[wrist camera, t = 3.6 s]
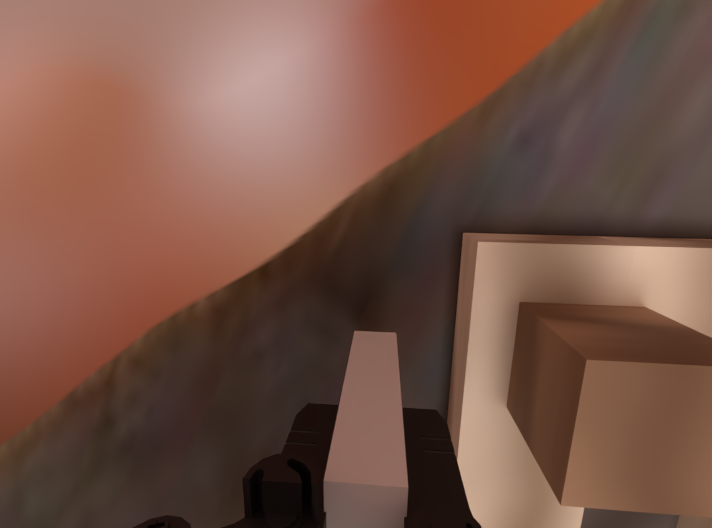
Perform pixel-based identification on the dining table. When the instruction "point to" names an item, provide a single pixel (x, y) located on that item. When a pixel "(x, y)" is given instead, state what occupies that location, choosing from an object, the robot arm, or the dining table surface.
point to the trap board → (496, 345)
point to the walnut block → (615, 406)
